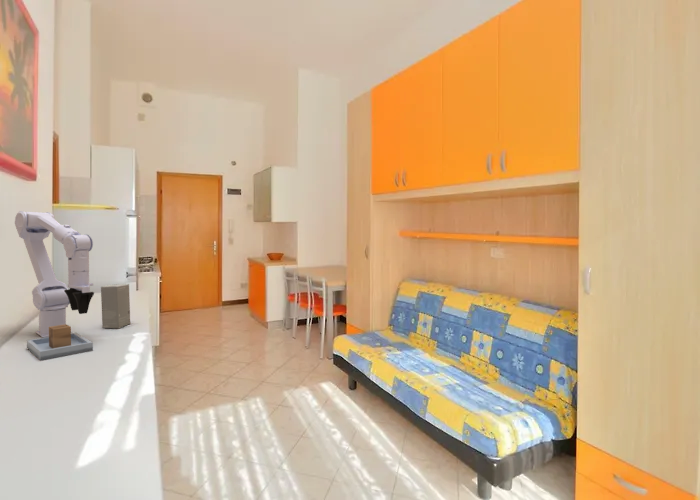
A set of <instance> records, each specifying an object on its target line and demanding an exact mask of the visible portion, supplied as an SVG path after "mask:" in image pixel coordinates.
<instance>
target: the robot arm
mask: <svg viewBox="0 0 700 500" xmlns="http://www.w3.org/2000/svg"><path fill="white" fill-rule="evenodd" d="M15 215H16V216H15V217H14V226H15V228H16V230H17V231H16V232H17V234H18V237H19V238H21V239H22V240H23V243H24V245H25V249H26V251H27V253H28V254H27V255H28V257H29V260H30V262H31V265H32V268H33V271H34V274H35V277H36V280H37V282H38V284H37V285H36V286H35V287H33V289H32V290H31V295H32V303H33V305H34V307H35V308H36V309H37V310H39V313H38V330H35V333H36V334H37V335H39V336H40V338H45V337H49V327H51V326H58V325H65V324H66V325H67V308H68V307H69V305H70V309H71V310H72V311H77V312H78V314H79V315H83V314H87V313H88V310H89V308H90V303H91V300H92V298H93V296H94V294H95V292H94V291H90V290H91V289H90V288H91V286H94V283H93V282H90V252H91V251H92V249H93V246H94V241H93V238H92V237H91V235H90V234H87V233H85V234H81V233H80V232H79V231H77V230H76V229H74V228H72V227H71V225H70V224H61V223H59V222H58V221H57V220H56V218H55V214H53V213H51V212H50V211H47V212H46V211H45V212H40V211H24V210H19V211H18V212H17V213H16V214H15ZM50 233H52V235H53V238H54V239H55V240H57V241H58V242H59V243H61V244H62V245H63V249H64V251H65V256H66V258H67V262H68V263H67V265H68V266H67V270H68V271H67V272H68V274H67V275H68V277H67V278H68V281H67V282H68V284H67V283H65V282H63V281H62V280H59V279H57V276H56V274H55V271H54V268H53V266H52V262H51V260H50V257H49V254H48V252H47V249H46V245H45V244H44V240H45V239H46V238H48V237H49V235H50Z"/></svg>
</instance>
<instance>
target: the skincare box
mask: <svg viewBox="0 0 700 500" xmlns="http://www.w3.org/2000/svg"><path fill="white" fill-rule="evenodd" d="M100 293H101V294H100V299H101V301H100V302H101V323H102V327H101V328H102V329H121V328H124V327H125V326H127V325H130V324H131V306H130V284H129V283H128V284H126V283H125V284H124V283H123V284H119V283H118V284H110V285H108V284H107V285H104V286H100Z"/></svg>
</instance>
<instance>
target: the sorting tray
mask: <svg viewBox="0 0 700 500" xmlns="http://www.w3.org/2000/svg"><path fill="white" fill-rule="evenodd" d="M27 348H28V349H29V350H30V351H31V352H30V351H29V350H28V349H27ZM26 349H27V350H28V351H29V352H30V353H32V354H33V355H34V356H35V357H36V358H37V359H38V360H39V361H44V360H50V359H56V358H60V357H61V358H62V357H65V356H72V355H76V354H81V353H87V352H92V351H94V343H93V341H91V340H89V339H88V338H86V337H84V336H83V335H81V334H80V333H77V332H73V333H72V332H71V345H70V346H65V347H59V348H53V349H52V348H51V347H50V346H49V337H40V338H34V339H29V340H26Z"/></svg>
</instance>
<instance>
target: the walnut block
mask: <svg viewBox="0 0 700 500" xmlns="http://www.w3.org/2000/svg"><path fill="white" fill-rule="evenodd" d="M71 333H72V328H71V326H70V325H68V324H67V323H66V324H65V325H58V326H51V327H49V346H50V347H51V348H52V349H53V348H59V347H65V346H70V345H71Z"/></svg>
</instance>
